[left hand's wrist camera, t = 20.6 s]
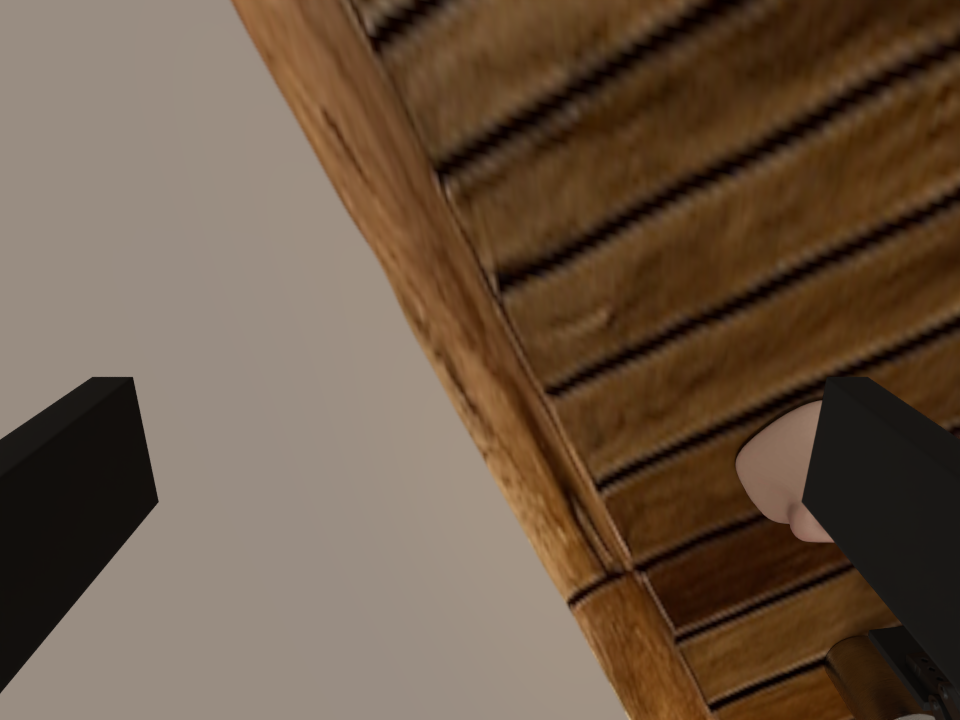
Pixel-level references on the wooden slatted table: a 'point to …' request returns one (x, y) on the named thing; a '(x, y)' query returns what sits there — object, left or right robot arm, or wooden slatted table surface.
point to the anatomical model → (783, 470)
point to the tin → (870, 683)
